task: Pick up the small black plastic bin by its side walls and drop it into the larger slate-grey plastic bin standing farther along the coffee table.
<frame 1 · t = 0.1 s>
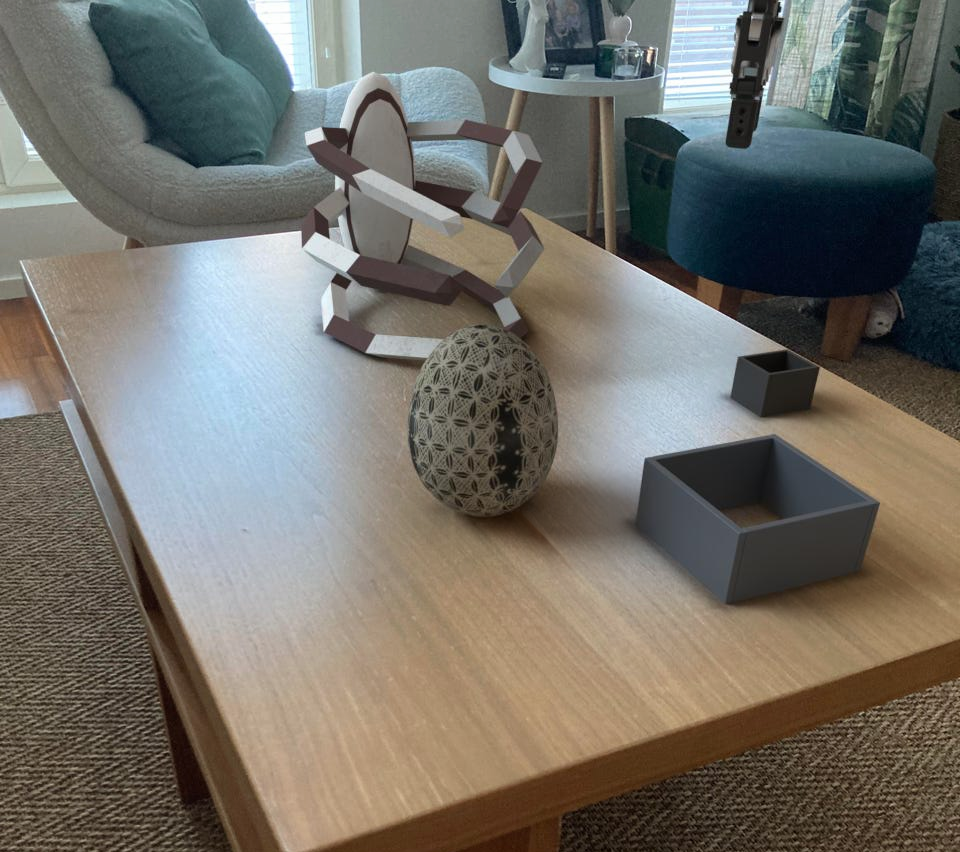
hand: (741, 139, 94), 23 cm above the table, tool pointing down, fingers open, 8 cm apart
grey bin: (742, 554, 79), on the table
small bin: (768, 410, 102), on the table
segmented loop sculpture: (418, 327, 119), on the table
decorative egg: (479, 510, 84), on the table
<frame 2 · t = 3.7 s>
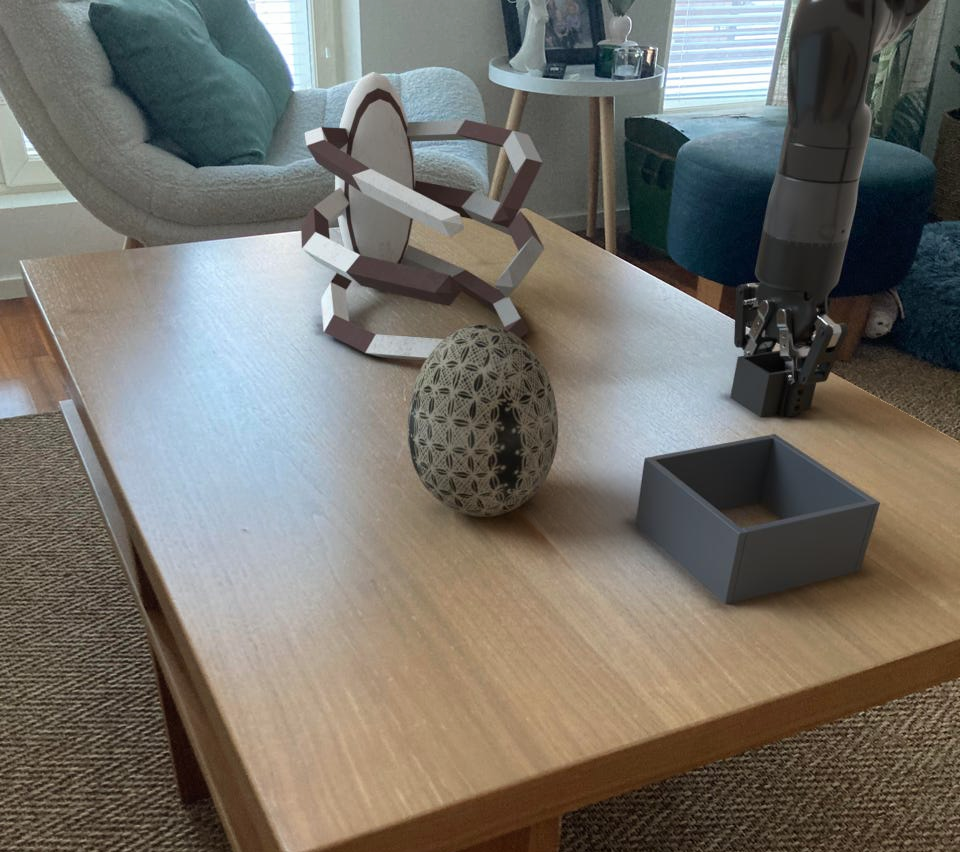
hand: (769, 406, 102), 0 cm above the table, tool pointing down, fingers closed on small bin, 5 cm apart
small bin: (768, 410, 102), on the table, touching gripper
everything else where it was.
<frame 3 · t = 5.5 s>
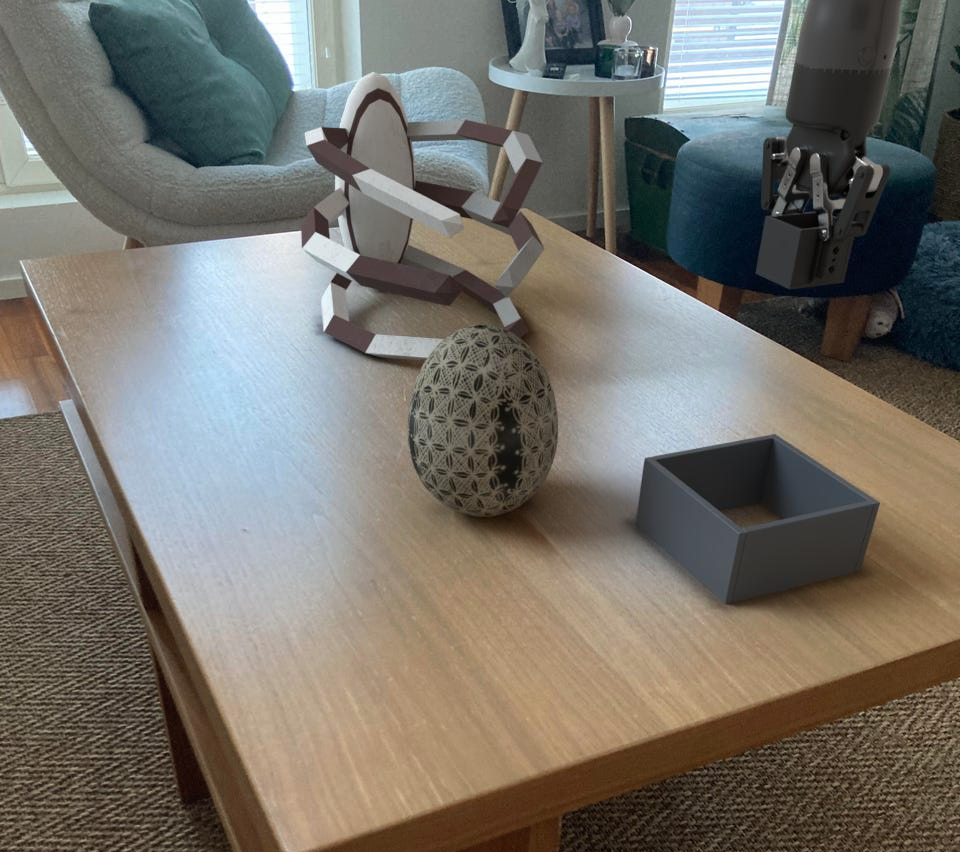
hand: (799, 273, 93), 14 cm above the table, tool pointing down, fingers closed on small bin, 5 cm apart
small bin: (799, 278, 93), point 13 cm above the table, touching gripper
everything else where it was.
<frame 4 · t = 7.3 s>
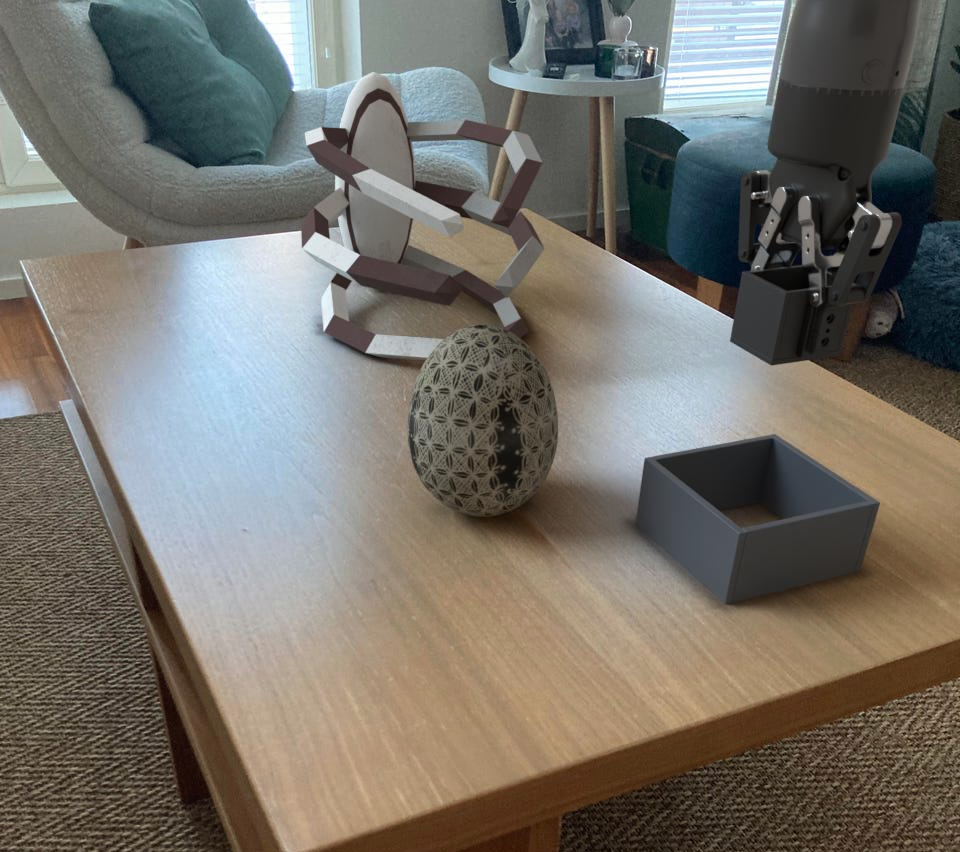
hand: (785, 342, 73), 15 cm above the table, tool pointing down, fingers closed on small bin, 5 cm apart
small bin: (784, 348, 74), point 15 cm above the table, touching gripper
everything else where it was.
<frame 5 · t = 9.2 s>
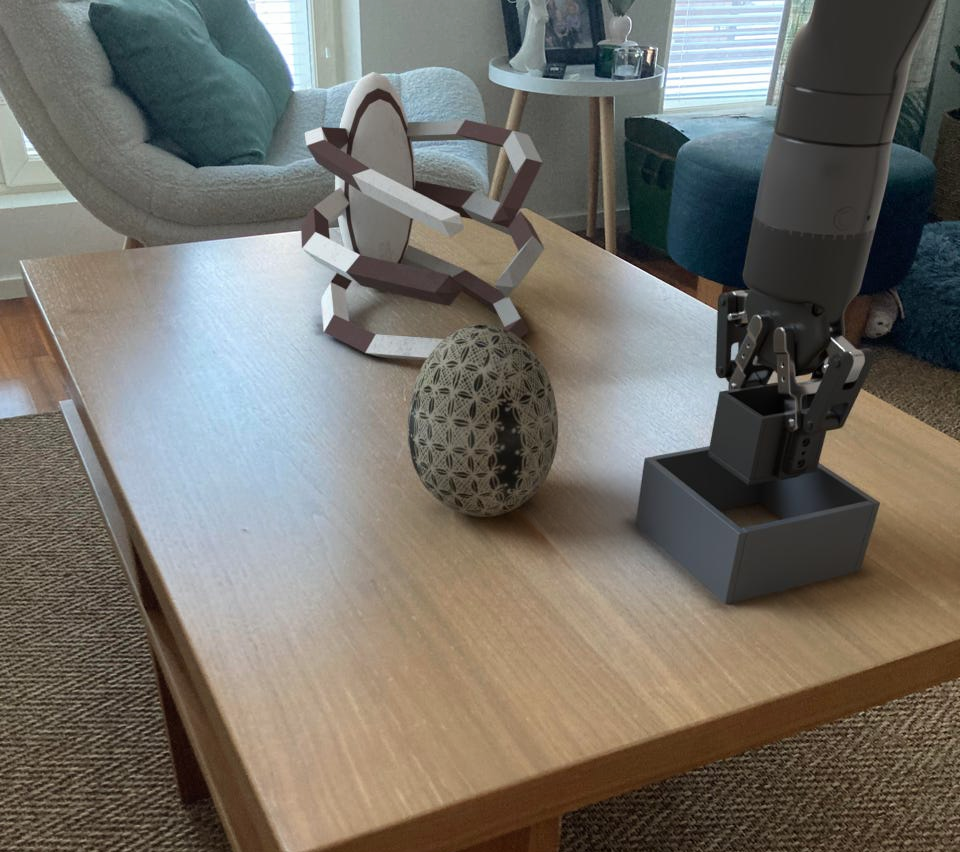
hand: (762, 458, 75), 8 cm above the table, tool pointing down, fingers closed on small bin, 5 cm apart
small bin: (761, 463, 75), point 8 cm above the table, touching gripper
everything else where it was.
when the fingers open (4 cm above the table, at t = 11.0 s): small bin drops 3 cm, resting on grey bin.
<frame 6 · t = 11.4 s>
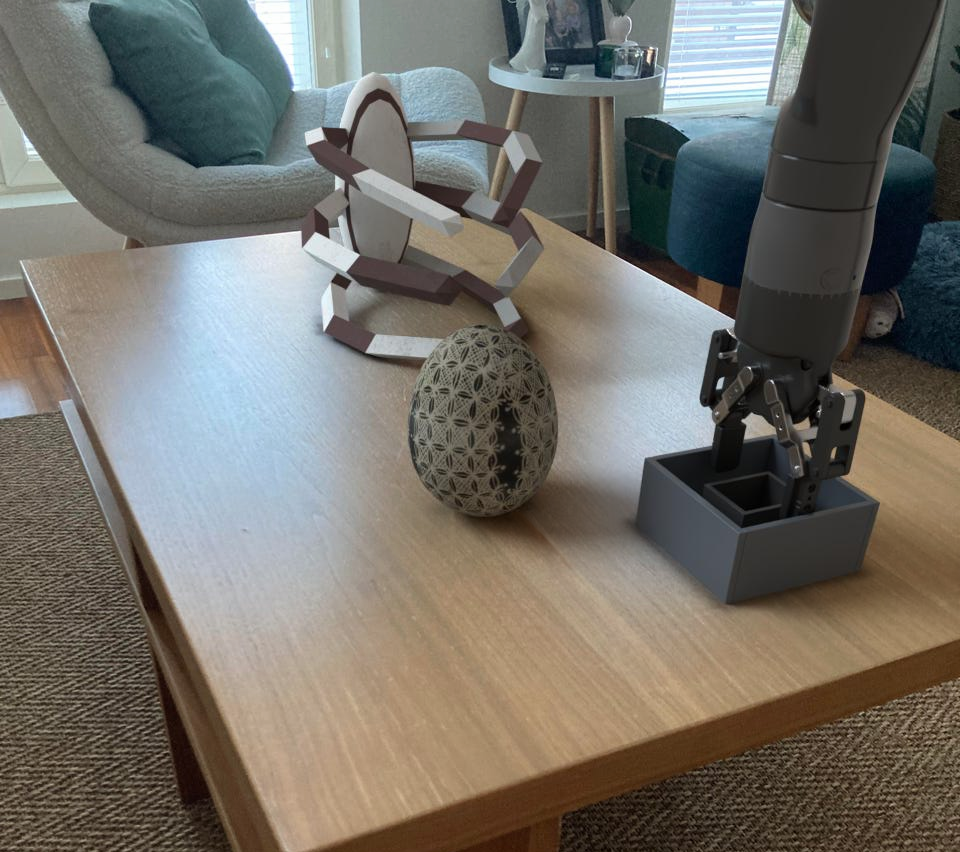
hand: (756, 493, 76), 5 cm above the table, tool pointing down, fingers open, 8 cm apart
small bin: (744, 549, 79), resting on grey bin
everything else where it was.
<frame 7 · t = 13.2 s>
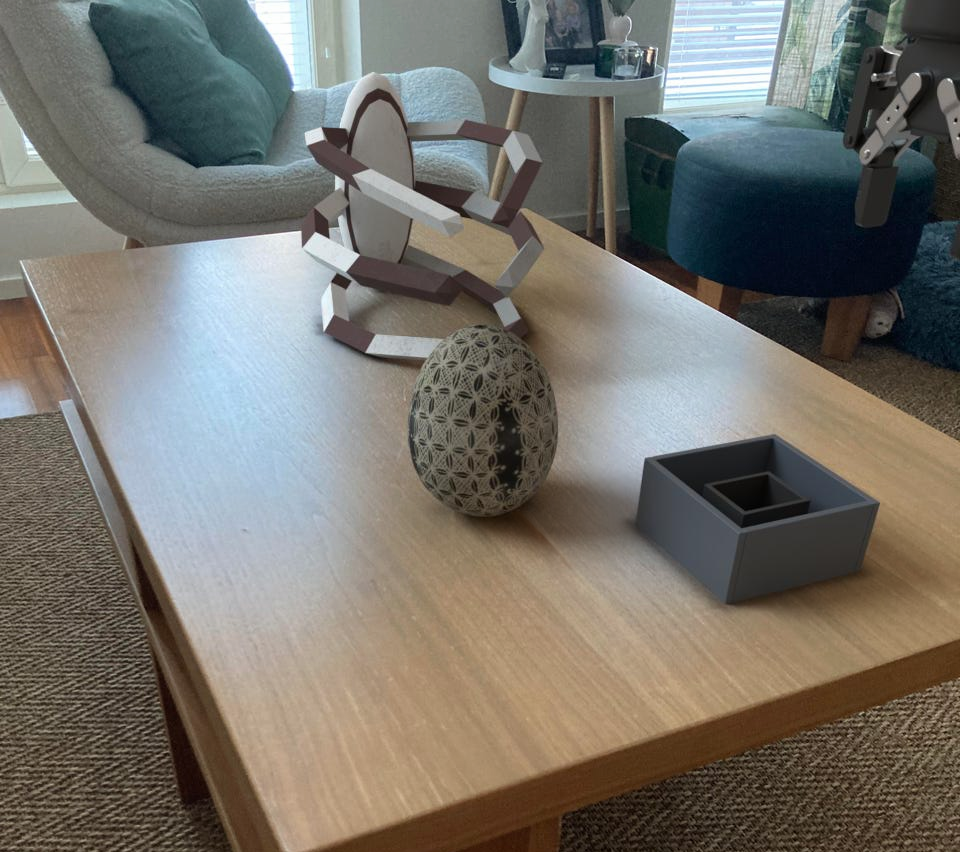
hand: (915, 241, 67), 23 cm above the table, tool pointing down, fingers open, 8 cm apart
nothing on the table moved.
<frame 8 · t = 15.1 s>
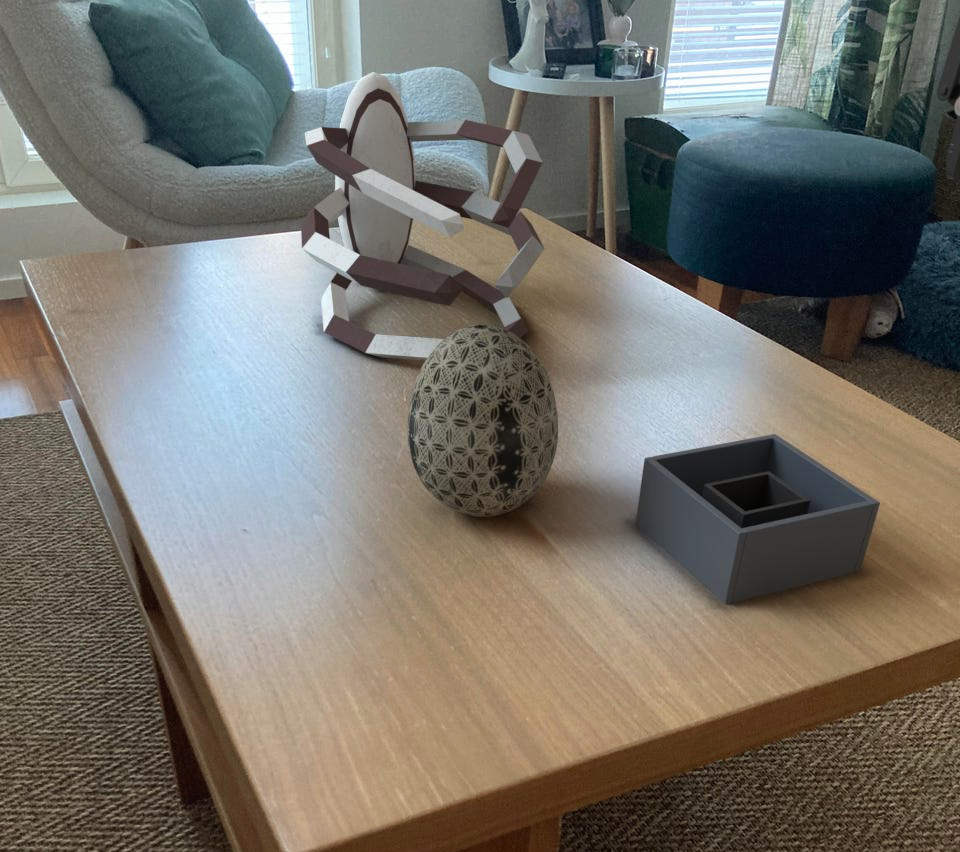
nothing on the table moved.
at the end: small bin inside the target area in the grey bin (0.1 cm from its centre), point 0.5 cm above the grey bin's base; the gripper is holding nothing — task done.
